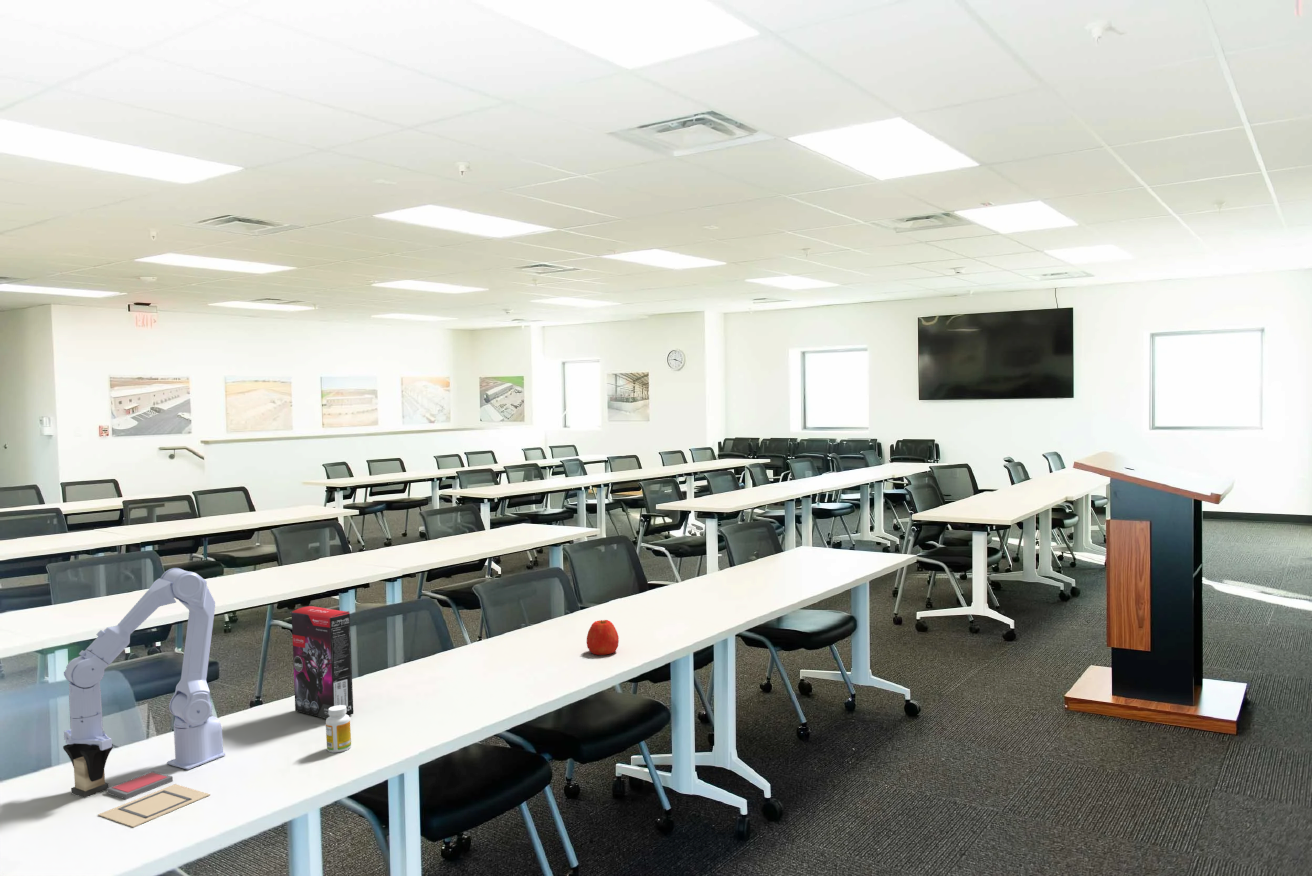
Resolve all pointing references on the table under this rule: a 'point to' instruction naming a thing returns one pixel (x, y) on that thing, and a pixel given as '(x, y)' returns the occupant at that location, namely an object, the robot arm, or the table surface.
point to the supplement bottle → (338, 729)
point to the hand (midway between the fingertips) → (89, 777)
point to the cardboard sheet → (153, 805)
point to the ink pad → (139, 784)
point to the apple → (602, 638)
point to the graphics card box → (322, 660)
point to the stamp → (86, 780)
